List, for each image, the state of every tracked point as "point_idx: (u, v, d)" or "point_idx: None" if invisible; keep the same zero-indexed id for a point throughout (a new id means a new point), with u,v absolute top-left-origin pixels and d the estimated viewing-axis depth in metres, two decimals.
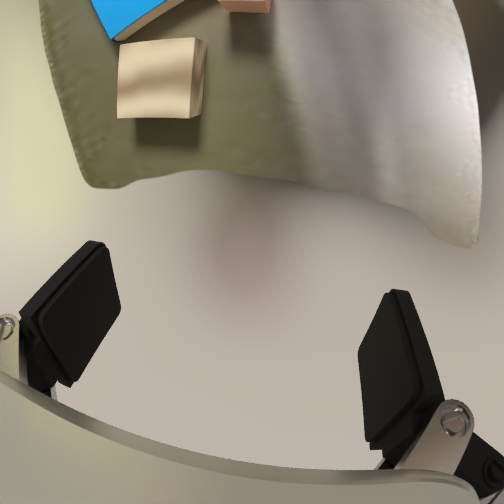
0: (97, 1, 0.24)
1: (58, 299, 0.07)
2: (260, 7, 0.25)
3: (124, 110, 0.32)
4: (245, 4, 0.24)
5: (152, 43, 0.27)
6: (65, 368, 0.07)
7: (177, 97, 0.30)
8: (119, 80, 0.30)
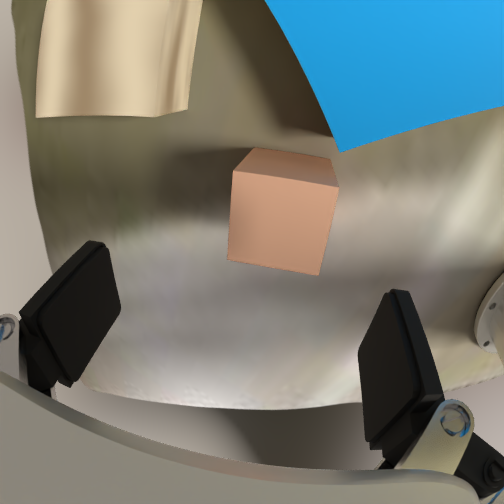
0: None
1: (58, 299, 0.07)
2: None
3: None
4: None
5: (159, 23, 0.11)
6: (65, 368, 0.07)
7: (59, 93, 0.14)
8: None
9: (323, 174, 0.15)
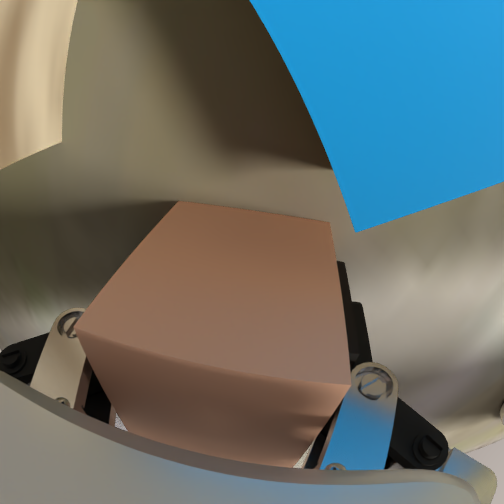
0: None
1: None
2: None
3: None
4: None
5: None
6: None
7: None
8: None
9: (312, 307, 0.06)
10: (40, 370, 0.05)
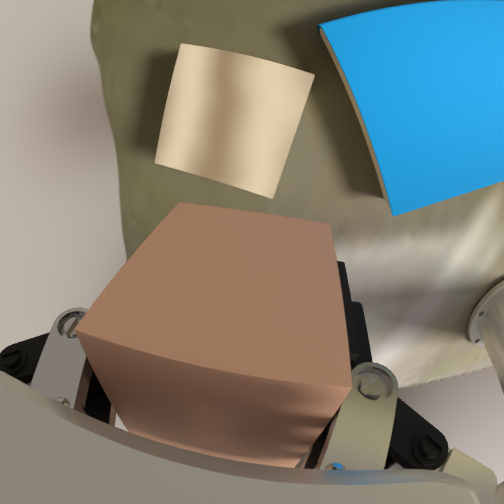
0: (410, 14, 0.14)
1: None
2: None
3: (189, 57, 0.18)
4: None
5: (290, 132, 0.20)
6: None
7: (186, 153, 0.22)
8: (245, 58, 0.18)
9: (313, 309, 0.06)
10: (40, 370, 0.05)
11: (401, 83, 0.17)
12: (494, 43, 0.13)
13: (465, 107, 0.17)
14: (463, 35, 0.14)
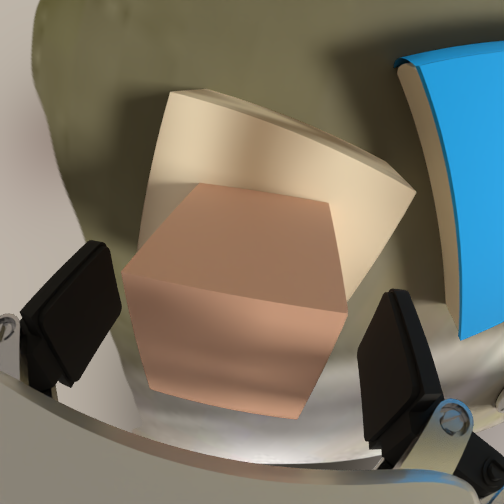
0: None
1: (59, 299, 0.07)
2: None
3: (186, 124, 0.10)
4: None
5: (354, 279, 0.13)
6: (66, 368, 0.07)
7: None
8: (298, 141, 0.10)
9: (315, 260, 0.07)
10: None
11: None
12: None
13: None
14: None
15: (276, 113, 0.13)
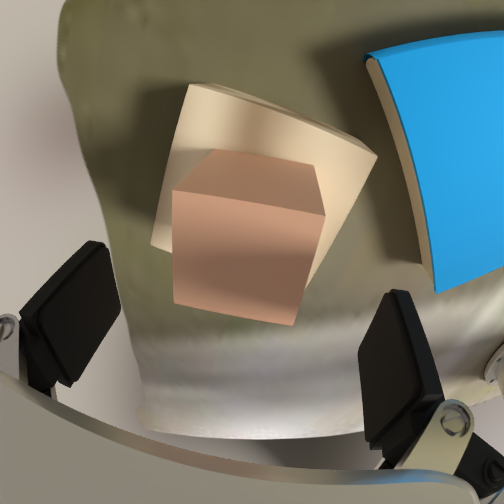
0: (484, 51, 0.10)
1: (58, 299, 0.07)
2: None
3: (201, 108, 0.13)
4: None
5: (333, 228, 0.16)
6: (65, 368, 0.07)
7: None
8: (285, 120, 0.13)
9: (303, 191, 0.11)
10: None
11: (468, 144, 0.13)
12: None
13: None
14: None
15: (268, 102, 0.16)
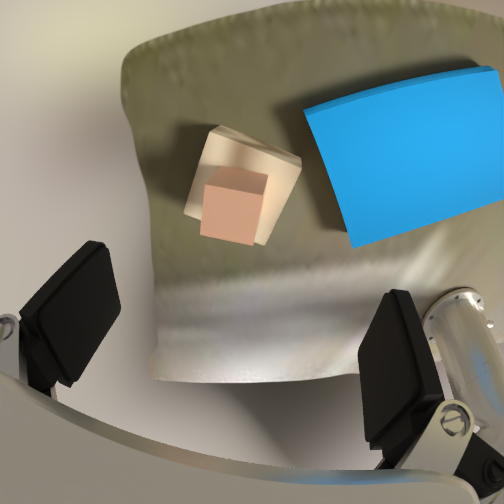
0: (374, 102, 0.25)
1: (58, 299, 0.07)
2: None
3: (215, 144, 0.29)
4: None
5: (280, 205, 0.31)
6: (65, 368, 0.07)
7: None
8: (255, 151, 0.29)
9: (257, 186, 0.26)
10: None
11: (361, 157, 0.29)
12: (443, 116, 0.24)
13: (411, 170, 0.28)
14: (416, 114, 0.25)
15: (250, 137, 0.32)
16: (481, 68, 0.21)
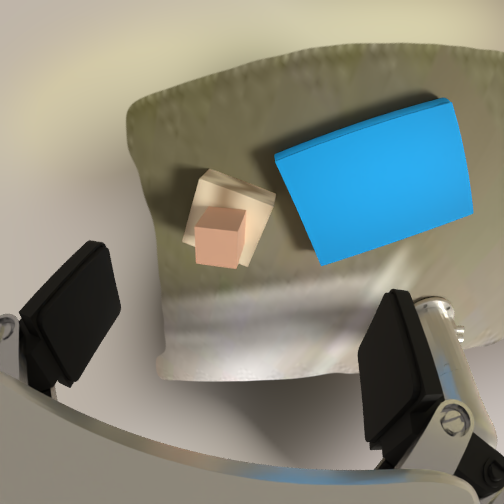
0: (332, 146, 0.33)
1: (58, 299, 0.07)
2: None
3: (204, 188, 0.37)
4: None
5: (258, 235, 0.40)
6: (65, 368, 0.07)
7: None
8: (236, 194, 0.37)
9: (234, 223, 0.35)
10: None
11: (323, 193, 0.37)
12: (396, 152, 0.32)
13: (367, 200, 0.36)
14: (370, 152, 0.33)
15: (233, 179, 0.40)
16: (436, 101, 0.28)
